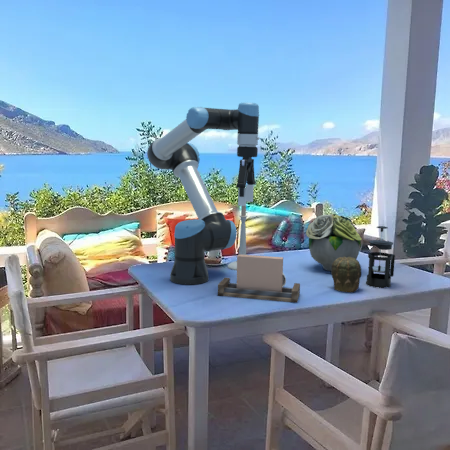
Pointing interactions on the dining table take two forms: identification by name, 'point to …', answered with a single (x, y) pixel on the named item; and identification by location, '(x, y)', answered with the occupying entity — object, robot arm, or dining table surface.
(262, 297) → the brown wooden rack
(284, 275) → the drinking glass
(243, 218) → the candlestick
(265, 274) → the door panel
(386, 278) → the french press
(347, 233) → the flower arrangement
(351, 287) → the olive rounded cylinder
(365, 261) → the dining table surface
